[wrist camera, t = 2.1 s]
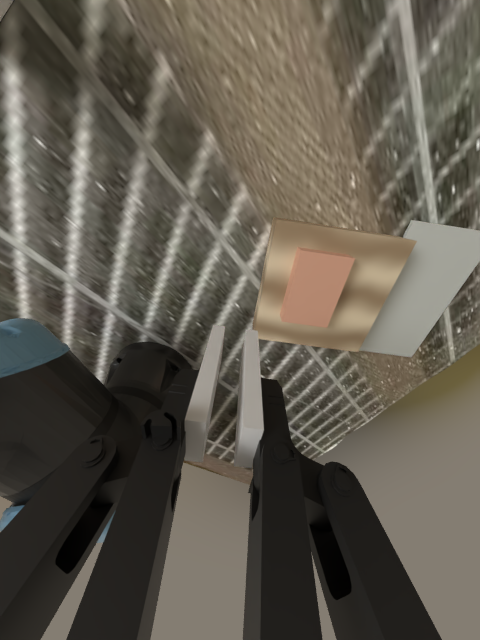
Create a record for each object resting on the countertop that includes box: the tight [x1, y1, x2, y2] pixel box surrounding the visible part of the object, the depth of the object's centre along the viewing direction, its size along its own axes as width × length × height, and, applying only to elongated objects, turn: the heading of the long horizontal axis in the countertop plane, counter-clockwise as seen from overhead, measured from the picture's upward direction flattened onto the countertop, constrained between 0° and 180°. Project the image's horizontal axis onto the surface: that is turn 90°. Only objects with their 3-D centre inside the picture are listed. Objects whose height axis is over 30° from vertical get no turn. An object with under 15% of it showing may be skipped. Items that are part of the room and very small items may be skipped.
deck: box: [253, 217, 417, 352], centre depth 29 cm, size 16×16×4 cm
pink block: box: [280, 247, 355, 328], centre depth 26 cm, size 9×6×2 cm, turn 172°
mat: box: [359, 220, 480, 357], centre depth 31 cm, size 20×11×1 cm, turn 172°
